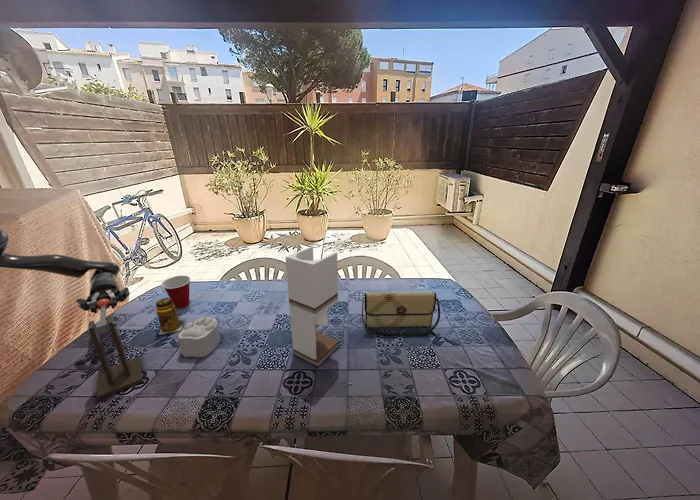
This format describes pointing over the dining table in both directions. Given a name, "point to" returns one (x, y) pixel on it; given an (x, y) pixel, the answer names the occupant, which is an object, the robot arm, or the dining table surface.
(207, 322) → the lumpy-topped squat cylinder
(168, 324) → the condiment
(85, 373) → the dining table surface
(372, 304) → the clutch purse
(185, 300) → the plastic cup
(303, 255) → the white tall boxy piece
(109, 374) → the bracket
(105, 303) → the lever
